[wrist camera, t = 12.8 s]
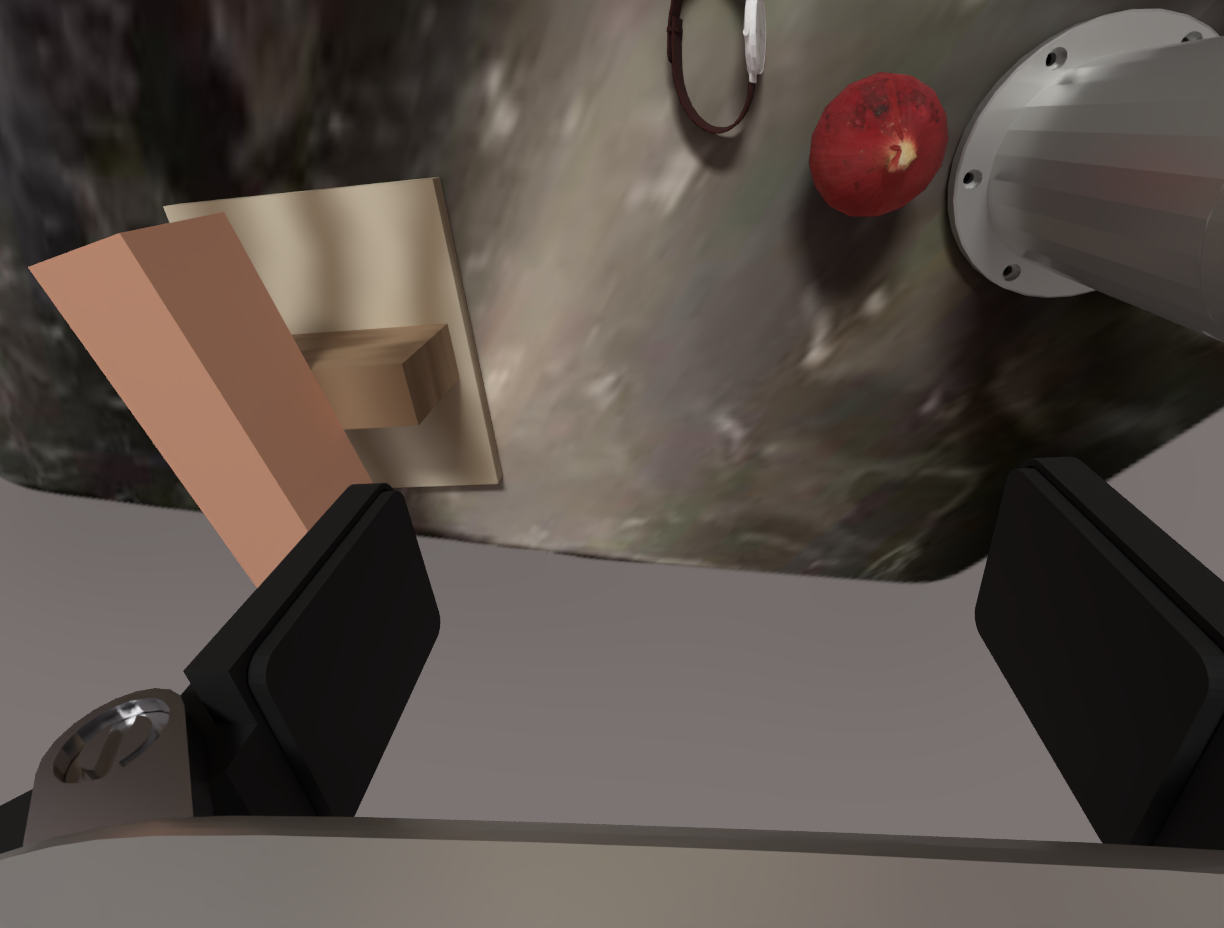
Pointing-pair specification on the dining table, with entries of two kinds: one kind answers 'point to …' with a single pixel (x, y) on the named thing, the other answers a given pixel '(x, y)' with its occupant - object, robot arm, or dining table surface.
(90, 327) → the beam
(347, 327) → the stand
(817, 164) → the onion
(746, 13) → the watch
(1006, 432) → the dining table surface
